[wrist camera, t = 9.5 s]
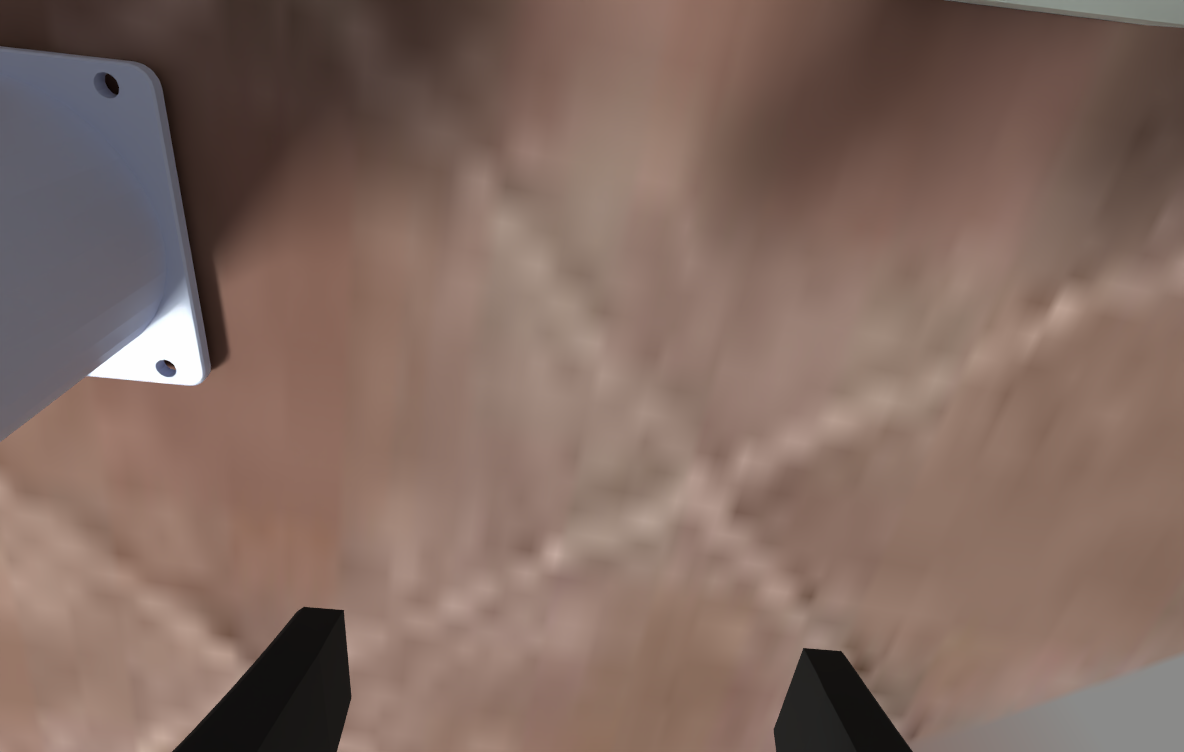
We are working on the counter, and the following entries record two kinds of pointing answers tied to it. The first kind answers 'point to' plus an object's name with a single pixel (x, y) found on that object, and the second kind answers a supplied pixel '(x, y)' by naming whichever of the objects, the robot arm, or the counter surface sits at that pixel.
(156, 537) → the counter surface
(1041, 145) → the counter surface
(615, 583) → the counter surface
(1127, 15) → the tray
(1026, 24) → the counter surface
